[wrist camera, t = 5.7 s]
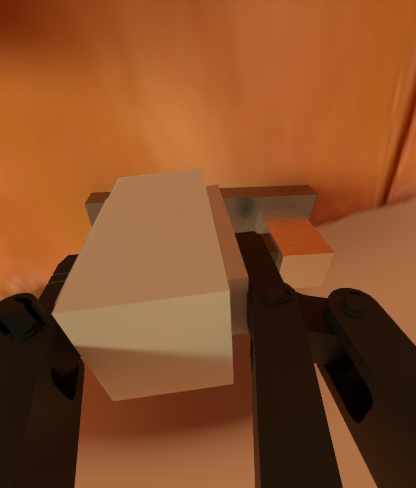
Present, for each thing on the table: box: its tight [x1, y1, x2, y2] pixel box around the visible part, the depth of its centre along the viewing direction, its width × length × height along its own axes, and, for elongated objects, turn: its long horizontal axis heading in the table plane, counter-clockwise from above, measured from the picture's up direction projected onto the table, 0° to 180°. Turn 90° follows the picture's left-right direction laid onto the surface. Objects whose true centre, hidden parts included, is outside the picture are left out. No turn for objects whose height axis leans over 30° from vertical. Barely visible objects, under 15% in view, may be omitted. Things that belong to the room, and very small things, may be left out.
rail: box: [85, 185, 335, 288], centre depth 26 cm, size 24×7×10 cm, turn 90°
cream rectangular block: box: [52, 168, 234, 401], centre depth 11 cm, size 6×4×8 cm
